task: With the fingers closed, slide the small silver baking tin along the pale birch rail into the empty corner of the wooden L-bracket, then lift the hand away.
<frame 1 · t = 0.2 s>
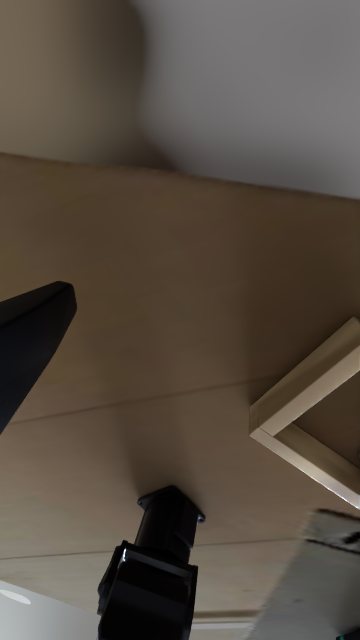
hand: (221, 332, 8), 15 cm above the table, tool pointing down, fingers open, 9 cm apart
corner bracket: (270, 407, 28), on the table
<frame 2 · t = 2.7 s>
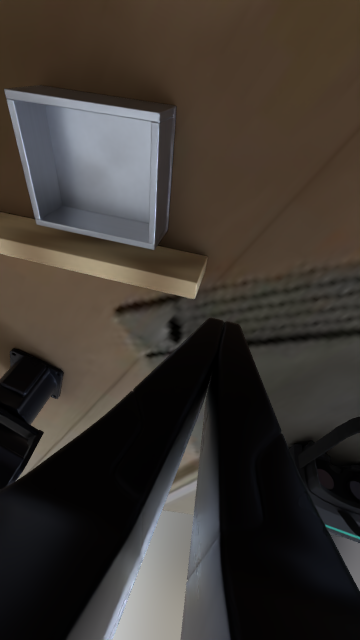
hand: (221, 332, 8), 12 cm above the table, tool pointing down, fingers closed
baking tin: (110, 164, 19), on the table
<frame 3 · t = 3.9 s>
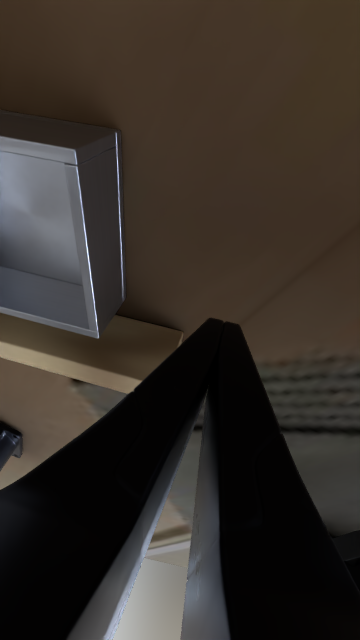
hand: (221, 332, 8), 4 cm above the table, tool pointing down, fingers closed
baking tin: (36, 210, 13), on the table
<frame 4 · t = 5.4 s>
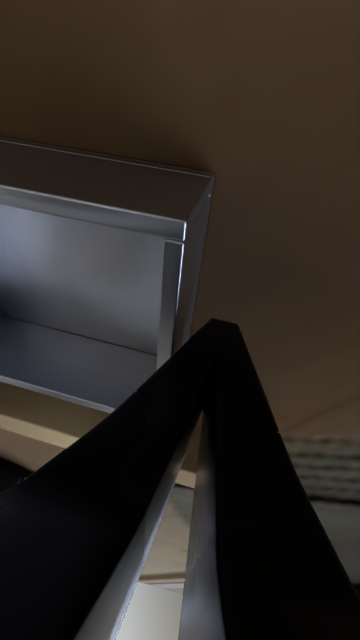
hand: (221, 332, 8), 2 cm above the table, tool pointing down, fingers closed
baking tin: (81, 264, 10), on the table, touching gripper
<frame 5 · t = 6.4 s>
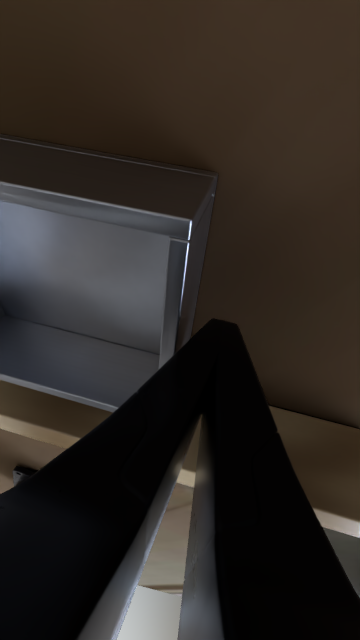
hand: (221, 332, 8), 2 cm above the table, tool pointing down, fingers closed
baking tin: (83, 262, 10), on the table, touching gripper
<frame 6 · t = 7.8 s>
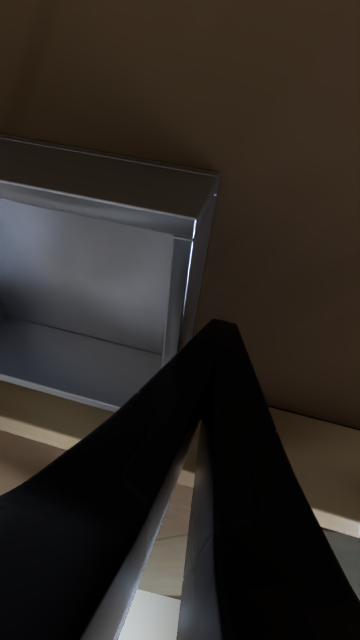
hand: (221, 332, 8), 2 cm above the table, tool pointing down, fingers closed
corner bracket: (17, 341, 14), on the table
baking tin: (84, 263, 10), on the table, touching corner bracket, gripper
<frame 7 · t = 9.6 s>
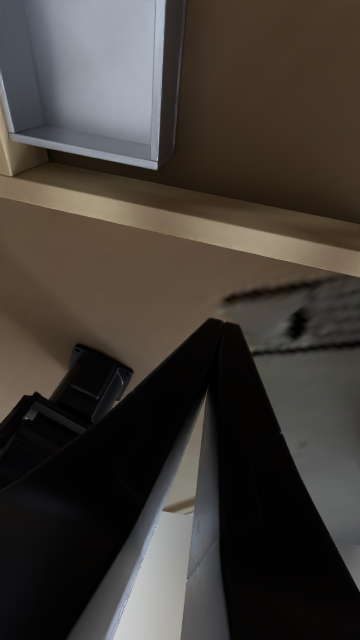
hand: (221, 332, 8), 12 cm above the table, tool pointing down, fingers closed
corner bracket: (49, 161, 19), on the table
baking tin: (103, 62, 15), on the table
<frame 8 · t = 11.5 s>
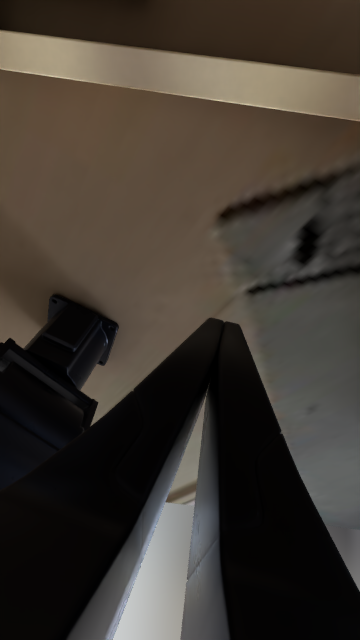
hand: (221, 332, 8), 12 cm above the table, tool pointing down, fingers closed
corner bracket: (0, 29, 15), on the table
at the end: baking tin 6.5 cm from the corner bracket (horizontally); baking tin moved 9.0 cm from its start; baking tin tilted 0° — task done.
